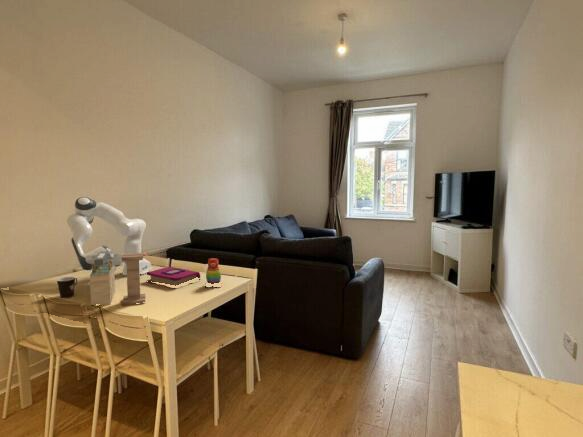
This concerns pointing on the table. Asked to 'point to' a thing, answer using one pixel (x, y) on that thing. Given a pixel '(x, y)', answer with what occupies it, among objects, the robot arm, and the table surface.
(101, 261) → the remote
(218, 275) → the stacking bear
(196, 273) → the book
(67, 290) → the coffee mug
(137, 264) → the walnut stand
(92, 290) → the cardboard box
